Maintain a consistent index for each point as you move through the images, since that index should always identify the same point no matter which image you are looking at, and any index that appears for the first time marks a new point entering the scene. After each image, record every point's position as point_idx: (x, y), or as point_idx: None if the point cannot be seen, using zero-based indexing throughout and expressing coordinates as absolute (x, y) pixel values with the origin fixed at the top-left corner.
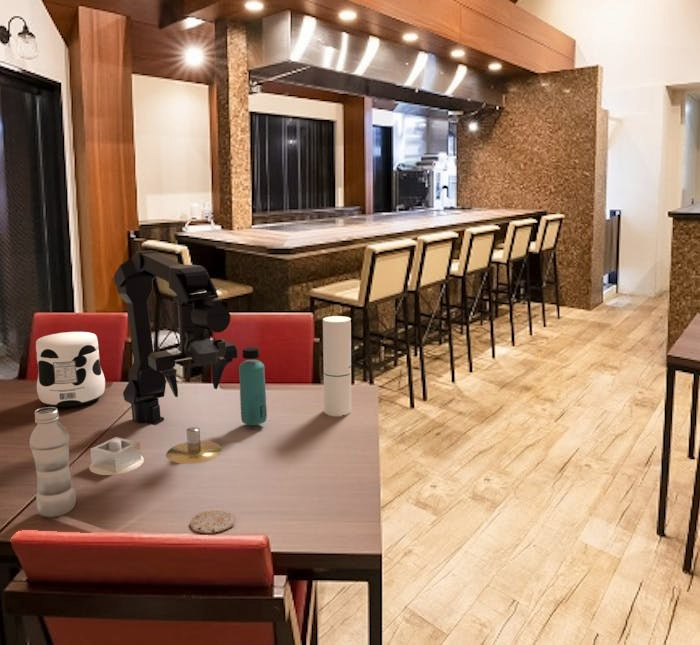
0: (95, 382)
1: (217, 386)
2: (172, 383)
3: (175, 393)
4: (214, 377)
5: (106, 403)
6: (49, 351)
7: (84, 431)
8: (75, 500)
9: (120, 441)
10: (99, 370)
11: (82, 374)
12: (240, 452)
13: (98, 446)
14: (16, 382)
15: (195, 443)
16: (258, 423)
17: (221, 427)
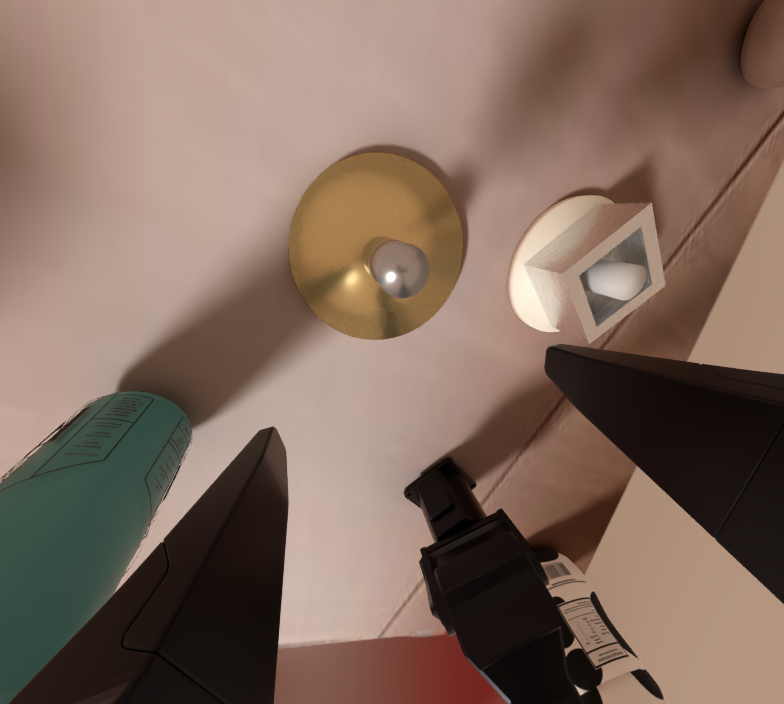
0: None
1: (253, 440)
2: (713, 368)
3: (586, 347)
4: (265, 526)
5: None
6: (656, 691)
7: (546, 463)
8: (778, 1)
9: (621, 275)
10: None
11: None
12: (218, 203)
13: (645, 293)
14: None
15: (390, 239)
16: (118, 393)
17: (269, 426)
